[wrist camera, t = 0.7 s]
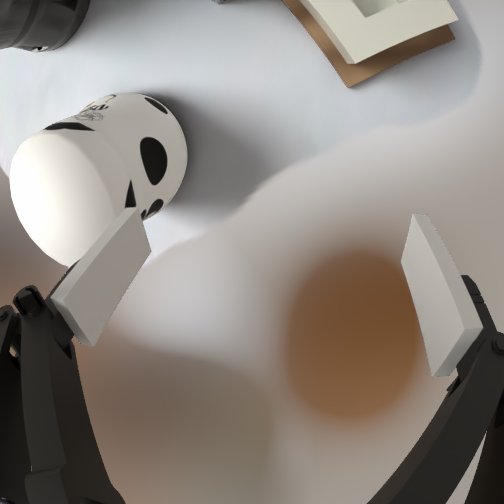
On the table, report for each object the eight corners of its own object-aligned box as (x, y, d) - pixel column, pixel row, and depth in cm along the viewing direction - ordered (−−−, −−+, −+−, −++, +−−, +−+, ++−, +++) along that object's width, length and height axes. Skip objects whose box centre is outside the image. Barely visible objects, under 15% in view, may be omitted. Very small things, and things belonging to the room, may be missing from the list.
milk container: (106, 74, 32) (5, 103, 18) (215, 115, 34) (146, 164, 20) (84, 175, 42) (9, 236, 28) (173, 219, 45) (116, 303, 30)
